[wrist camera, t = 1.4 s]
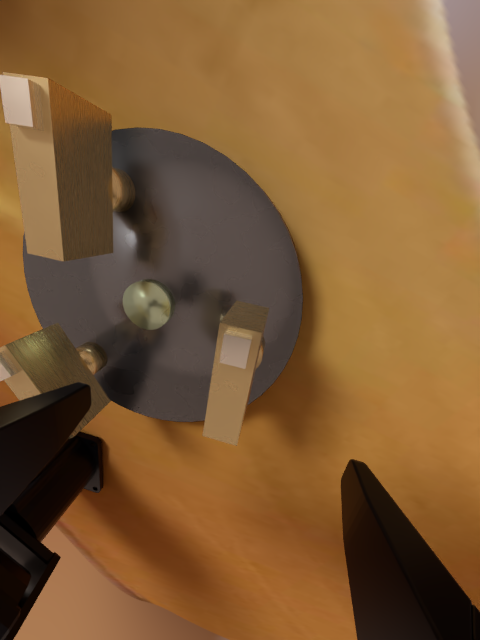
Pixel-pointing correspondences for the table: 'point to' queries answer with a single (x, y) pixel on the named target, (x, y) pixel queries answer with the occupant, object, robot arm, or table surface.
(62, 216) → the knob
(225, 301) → the plate
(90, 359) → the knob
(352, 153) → the table surface
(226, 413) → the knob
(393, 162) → the table surface
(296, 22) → the table surface
